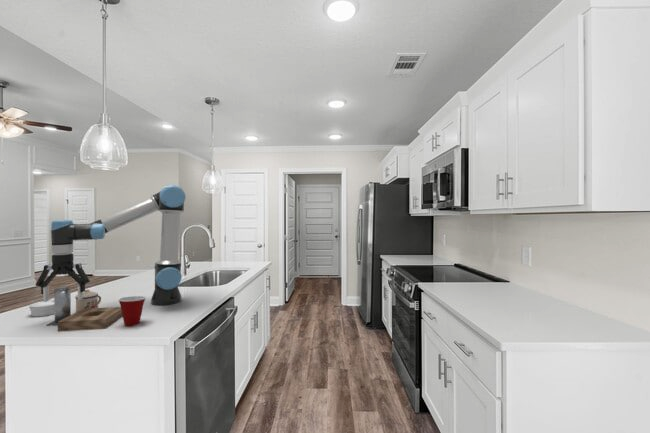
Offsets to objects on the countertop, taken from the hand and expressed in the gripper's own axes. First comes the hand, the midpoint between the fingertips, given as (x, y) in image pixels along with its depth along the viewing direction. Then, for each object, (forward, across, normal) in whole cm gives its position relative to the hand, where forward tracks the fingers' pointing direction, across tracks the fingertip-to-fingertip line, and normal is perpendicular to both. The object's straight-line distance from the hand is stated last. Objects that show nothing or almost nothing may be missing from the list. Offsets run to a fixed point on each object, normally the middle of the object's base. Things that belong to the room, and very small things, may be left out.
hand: (63, 300), depth 140 cm
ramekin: (+10, +16, -15) cm, 24 cm away
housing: (+10, -14, +3) cm, 17 cm away
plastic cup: (+11, -32, +8) cm, 34 cm away
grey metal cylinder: (+9, 0, 0) cm, 9 cm away
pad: (+10, 0, 0) cm, 10 cm away
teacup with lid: (+10, -4, -14) cm, 18 cm away
